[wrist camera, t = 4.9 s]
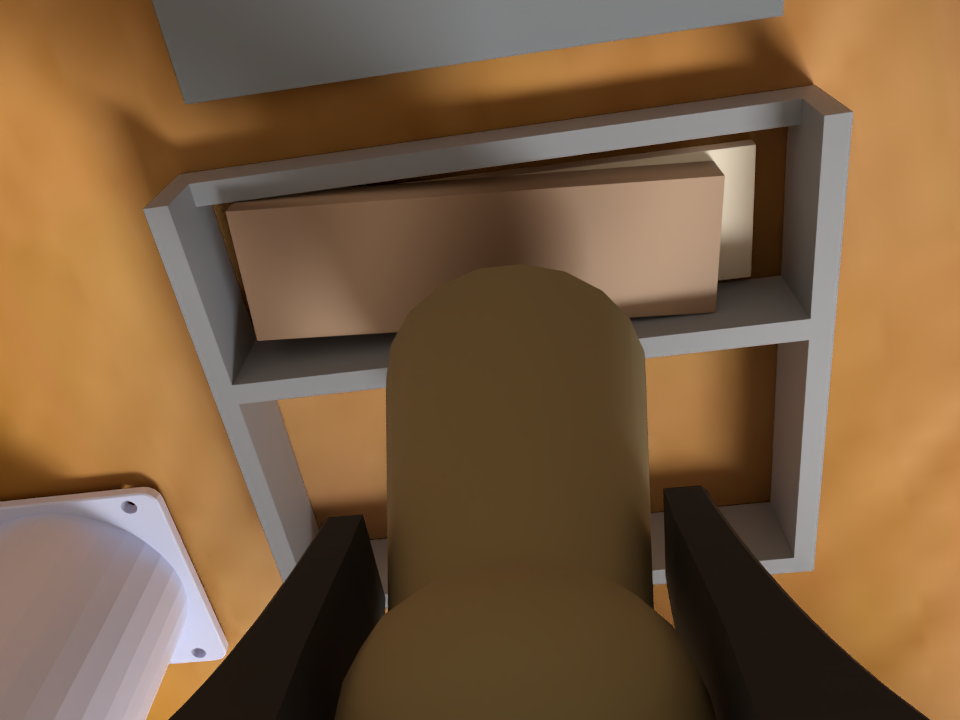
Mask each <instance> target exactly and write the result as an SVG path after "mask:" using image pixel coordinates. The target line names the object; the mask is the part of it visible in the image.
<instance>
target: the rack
mask: <svg viewBox="0 0 960 720" xmlns="http://www.w3.org/2000/svg"><path fill="white" fill-rule="evenodd" d="M852 121H853V111H851V110H850V109H849V108H847V107H846V106H844V105H843V104H841V103H840V102H839V101H837V100H836V99H834V98H833V97H832V96H830V95H829V94H827V93H826V92H824V91H823V90H822V89H820V88H819V87H817V86H816V85H810V86H803V87H796V88H789V89H782V90H775V91H768V92H761V93H753V94H746V95H739V96H732V97H725V98H718V99H711V100H704V101H696V102H689V103H682V104H675V105H668V106H661V107H654V108H647V109H640V110H632V111H625V112H618V113H611V114H604V115H597V116H590V117H583V118H576V119H568V120H561V121H554V122H547V123H540V124H533V125H526V126H519V127H511V128H504V129H497V130H490V131H483V132H476V133H469V134H462V135H455V136H447V137H440V138H433V139H426V140H419V141H412V142H405V143H398V144H391V145H383V146H376V147H369V148H362V149H355V150H348V151H341V152H334V153H326V154H319V155H312V156H305V157H298V158H291V159H284V160H277V161H270V162H262V163H255V164H248V165H241V166H234V167H227V168H220V169H213V170H206V171H198V172H191V173H184V174H179V175H178V176H177V177H175V178H174V179H173V180H172V181H171V182H170V183H169V184H168V185H167V186H166V187H165V188H164V189H163V190H162V191H161V192H160V193H159V194H158V195H157V196H156V197H155V198H154V199H153V200H152V201H151V202H150V203H149V204H148V205H147V206H146V207H145V208H144V209H143V211H144V213H145V216H146V219H147V221H148V224H149V227H150V229H151V232H152V235H153V237H154V240H155V243H156V245H157V248H158V251H159V253H160V256H161V259H162V261H163V264H164V267H165V269H166V272H167V275H168V277H169V280H170V283H171V285H172V288H173V291H174V293H175V296H176V299H177V301H178V304H179V307H180V309H181V312H182V315H183V317H184V320H185V323H186V325H187V328H188V331H189V333H190V336H191V339H192V341H193V344H194V346H195V349H196V352H197V354H198V357H199V360H200V362H201V365H202V368H203V370H204V373H205V376H206V378H207V381H208V384H209V386H210V389H211V392H212V394H213V397H214V400H215V402H216V405H217V408H218V410H219V413H220V416H221V418H222V421H223V424H224V426H225V429H226V432H227V434H228V437H229V440H230V442H231V445H232V448H233V450H234V453H235V456H236V458H237V461H238V464H239V466H240V469H241V472H242V474H243V477H244V480H245V482H246V485H247V488H248V490H249V493H250V496H251V498H252V501H253V504H254V506H255V509H256V512H257V514H258V517H259V520H260V522H261V525H262V528H263V530H264V533H265V536H266V538H267V541H268V544H269V546H270V549H271V552H272V554H273V557H274V560H275V562H276V565H277V568H278V570H279V573H280V576H281V578H282V581H283V583H284V582H285V580H286V579H287V577H288V576H289V574H290V573H291V571H292V570H293V568H294V567H295V566H296V564H297V563H298V561H299V560H300V558H301V557H302V555H303V554H304V552H305V551H306V549H307V548H308V546H309V545H310V543H311V542H312V540H313V539H314V537H315V535H316V534H317V532H318V531H319V528H318V525H317V522H316V519H315V516H314V513H313V510H312V507H311V504H310V501H309V498H308V495H307V491H306V488H305V485H304V482H303V479H302V476H301V473H300V470H299V467H298V464H297V461H296V458H295V455H294V452H293V449H292V446H291V443H290V440H289V437H288V434H287V431H286V428H285V425H284V422H283V419H282V415H281V412H280V409H279V406H278V403H277V400H281V399H290V398H299V397H307V396H316V395H325V394H334V393H343V392H352V391H361V390H370V389H378V388H386V376H387V369H388V362H389V355H390V348H391V344H392V342H393V340H394V338H395V337H396V335H397V333H398V332H391V333H375V334H359V335H343V336H327V337H311V338H295V339H279V340H263V341H257V338H256V336H255V333H254V330H253V327H252V324H251V321H250V318H249V315H248V312H247V309H246V306H245V303H244V300H243V297H242V294H241V291H240V288H239V285H238V282H237V279H236V276H235V273H234V270H233V267H232V264H231V260H230V257H229V254H228V251H227V248H226V245H225V242H224V239H223V236H222V233H221V230H220V227H219V224H218V221H217V218H216V215H215V212H214V209H213V206H212V205H215V204H222V203H229V202H237V201H244V200H251V199H259V198H266V197H273V196H281V195H288V194H295V193H303V192H310V191H317V190H325V189H332V188H339V187H347V186H354V185H361V184H369V183H376V182H383V181H391V180H398V179H405V178H413V177H420V176H427V175H435V174H442V173H449V172H457V171H464V170H471V169H479V168H486V167H493V166H501V165H508V164H515V163H522V162H530V161H537V160H544V159H552V158H559V157H566V156H574V155H581V154H588V153H596V152H603V151H610V150H618V149H625V148H632V147H640V146H647V145H654V144H662V143H669V142H676V141H684V140H691V139H698V138H706V137H713V136H720V135H728V134H735V133H742V132H750V131H757V130H764V129H772V128H779V127H786V126H788V131H787V152H786V174H785V196H784V217H783V239H782V261H781V275H779V276H771V277H763V278H754V279H746V280H738V281H729V282H721V283H717V297H716V312H711V313H695V314H679V315H663V316H647V317H631V318H629V319H630V320H631V323H632V325H633V327H634V329H635V332H636V334H637V336H638V338H639V341H640V343H641V345H642V347H643V350H644V352H645V358H653V357H662V356H671V355H680V354H689V353H698V352H707V351H715V350H724V349H733V348H742V347H751V346H760V345H769V344H778V347H777V369H776V391H775V412H774V434H773V456H772V477H771V499H770V502H763V503H752V504H742V505H731V506H721V507H718V508H719V509H720V511H721V512H722V514H723V515H724V517H725V518H726V519H727V521H728V522H729V524H730V525H731V526H732V528H733V529H734V530H735V532H736V533H737V534H738V535H739V537H740V538H741V539H742V541H743V542H744V543H745V545H746V546H747V547H748V548H749V550H750V551H751V552H752V553H753V555H754V556H755V557H756V558H757V559H758V560H759V562H760V563H761V564H762V565H763V566H764V568H765V569H766V570H767V571H768V572H769V573H770V574H781V573H792V572H804V571H814V561H815V550H816V538H817V526H818V515H819V503H820V492H821V480H822V469H823V457H824V445H825V434H826V422H827V411H828V399H829V387H830V376H831V364H832V353H833V341H834V329H835V318H836V306H837V295H838V283H839V271H840V260H841V248H842V237H843V225H844V213H845V202H846V190H847V179H848V167H849V155H850V144H851V132H852ZM650 515H651V545H652V574H653V585H655V584H667V583H666V577H665V536H664V512H658V513H650ZM370 542H371V546H372V550H373V553H374V557H375V561H376V564H377V568H378V572H379V575H380V579H381V583H382V586H383V590H384V594H385V597H386V602H385V608H388V561H387V538H386V539H375V540H370Z"/></svg>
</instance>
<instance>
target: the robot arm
mask: <svg viewBox="0 0 960 720" xmlns="http://www.w3.org/2000/svg"><path fill="white" fill-rule="evenodd" d="M663 493H664V536H665V577H666V583H667V588H668V594H669V599H670V605H671V610H672V616H673V621H674V626H675V631H676V633H677V635H678V636H679V638H680V640H681V642H682V643H683V645H684V647H685V649H686V650H687V652H688V654H689V656H690V657H691V659H692V661H693V663H694V665H695V667H696V669H697V671H698V673H699V675H700V676H701V678H702V680H703V682H704V684H705V686H706V688H707V690H708V692H709V694H710V696H711V700H712V704H713V707H714V711H715V715H716V719H717V720H930V719H928V718H927V717H926V716H924V715H923V714H922V713H920V712H919V711H918V710H916V709H915V708H914V707H913V706H911V705H910V704H909V703H907V702H906V701H905V700H903V699H902V698H901V697H899V696H898V695H897V694H895V693H894V692H893V691H891V690H890V689H889V688H888V687H886V686H885V685H884V684H883V683H881V682H880V681H879V680H878V679H877V678H876V677H874V676H873V675H872V674H871V673H870V672H869V671H867V670H866V669H865V668H864V667H863V666H861V665H860V664H859V663H858V662H857V661H856V660H854V659H853V658H852V657H851V656H850V655H849V654H848V653H847V652H846V651H845V650H843V649H842V648H841V647H840V646H839V645H838V644H837V643H836V642H835V641H834V640H833V639H831V638H830V637H829V636H828V635H827V634H826V633H825V632H824V631H823V630H822V629H821V628H820V627H819V626H818V625H817V624H816V623H815V622H814V621H813V620H812V619H811V618H810V617H809V616H808V615H807V614H806V613H805V612H804V611H803V610H802V609H801V608H800V607H799V605H798V604H797V603H796V602H795V601H794V600H793V599H792V598H791V597H790V596H789V595H788V594H787V593H786V592H785V590H784V589H783V588H782V587H781V586H780V585H779V584H778V583H777V582H776V580H775V579H774V578H773V577H772V576H771V575H770V573H769V572H768V571H767V570H766V569H765V568H764V566H763V565H762V564H761V563H760V562H759V560H758V559H757V558H756V557H755V556H754V555H753V553H752V552H751V551H750V550H749V548H748V547H747V546H746V545H745V543H744V542H743V541H742V539H741V538H740V537H739V535H738V534H737V533H736V532H735V530H734V529H733V528H732V526H731V525H730V524H729V522H728V521H727V519H726V518H725V517H724V515H723V514H722V512H721V511H720V509H719V508H718V507H717V505H716V504H715V502H714V501H713V499H712V497H711V496H710V494H709V493H708V491H707V490H706V489H705V488H703V487H702V486H701V485H700V486H689V487H677V488H666V489H663ZM127 501H130V502H132V503H134V504H135V505H131V504H129V503H128V502H127ZM385 602H386V597H385V594H384V590H383V586H382V583H381V579H380V575H379V572H378V568H377V564H376V561H375V557H374V553H373V550H372V546H371V542H370V539H369V535H368V531H367V528H366V524H365V520H364V517H363V515H352V516H340V517H329V518H328V519H327V520H326V521H325V522H324V523H323V525H322V526H321V528H320V529H319V531H318V532H317V534H316V535H315V537H314V539H313V540H312V542H311V543H310V545H309V546H308V548H307V549H306V551H305V552H304V554H303V555H302V557H301V558H300V560H299V561H298V563H297V564H296V566H295V567H294V568H293V570H292V571H291V573H290V574H289V576H288V577H287V579H286V580H285V582H284V583H283V584H282V586H281V587H280V588H279V590H278V591H277V593H276V594H275V595H274V597H273V598H272V600H271V601H270V602H269V604H268V605H267V606H266V608H265V609H264V611H263V612H262V613H261V615H260V616H259V617H258V619H257V620H256V621H255V622H254V624H253V625H252V626H251V627H250V629H249V630H248V631H247V632H246V634H245V635H244V636H243V637H242V639H241V640H240V641H239V643H238V644H237V645H236V646H235V648H234V649H233V650H232V651H231V653H230V654H229V655H228V656H227V657H226V659H225V660H224V661H223V662H222V663H221V664H220V666H219V667H218V668H217V669H216V670H215V671H214V672H213V674H212V675H211V676H210V677H209V678H208V679H207V680H206V681H205V682H204V684H203V685H202V686H201V687H200V688H199V689H198V690H197V691H196V692H195V693H194V694H193V695H192V696H191V697H190V699H189V700H188V701H187V702H186V703H185V704H184V705H183V706H182V707H181V708H180V709H179V710H178V711H177V712H176V713H175V714H174V715H173V716H172V717H171V718H170V719H169V720H334V718H335V714H336V709H337V705H338V700H339V696H340V691H341V687H342V682H343V680H344V678H345V676H346V674H347V673H348V671H349V669H350V667H351V665H352V663H353V661H354V659H355V657H356V655H357V653H358V651H359V650H360V648H361V646H362V645H363V644H364V642H365V641H366V639H367V638H368V636H369V635H370V633H371V632H372V630H373V629H374V627H375V626H376V625H377V623H378V622H379V620H380V619H381V617H382V616H383V615H384V614H385ZM227 649H228V642H227V640H226V638H225V636H224V633H223V631H222V629H221V627H220V624H219V622H218V620H217V618H216V616H215V613H214V611H213V609H212V607H211V604H210V602H209V600H208V598H207V595H206V593H205V591H204V589H203V586H202V584H201V582H200V580H199V578H198V575H197V573H196V571H195V569H194V566H193V564H192V562H191V560H190V557H189V555H188V553H187V551H186V548H185V546H184V544H183V542H182V540H181V537H180V535H179V533H178V531H177V528H176V526H175V524H174V522H173V519H172V517H171V515H170V513H169V510H168V508H167V506H166V504H165V502H164V499H163V497H162V496H161V494H160V493H159V492H158V491H156V490H155V489H152V488H149V487H136V488H127V489H117V490H108V491H98V492H88V493H79V494H69V495H60V496H50V497H41V498H31V499H21V500H12V501H2V502H0V720H146V718H147V716H148V713H149V711H150V708H151V706H152V704H153V701H154V699H155V696H156V694H157V691H158V689H159V687H160V684H161V682H162V679H163V677H164V674H165V672H166V670H167V667H168V665H169V664H174V663H186V662H198V661H210V660H218V659H221V658H223V657H224V656H225V654H226V652H227Z"/></svg>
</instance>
